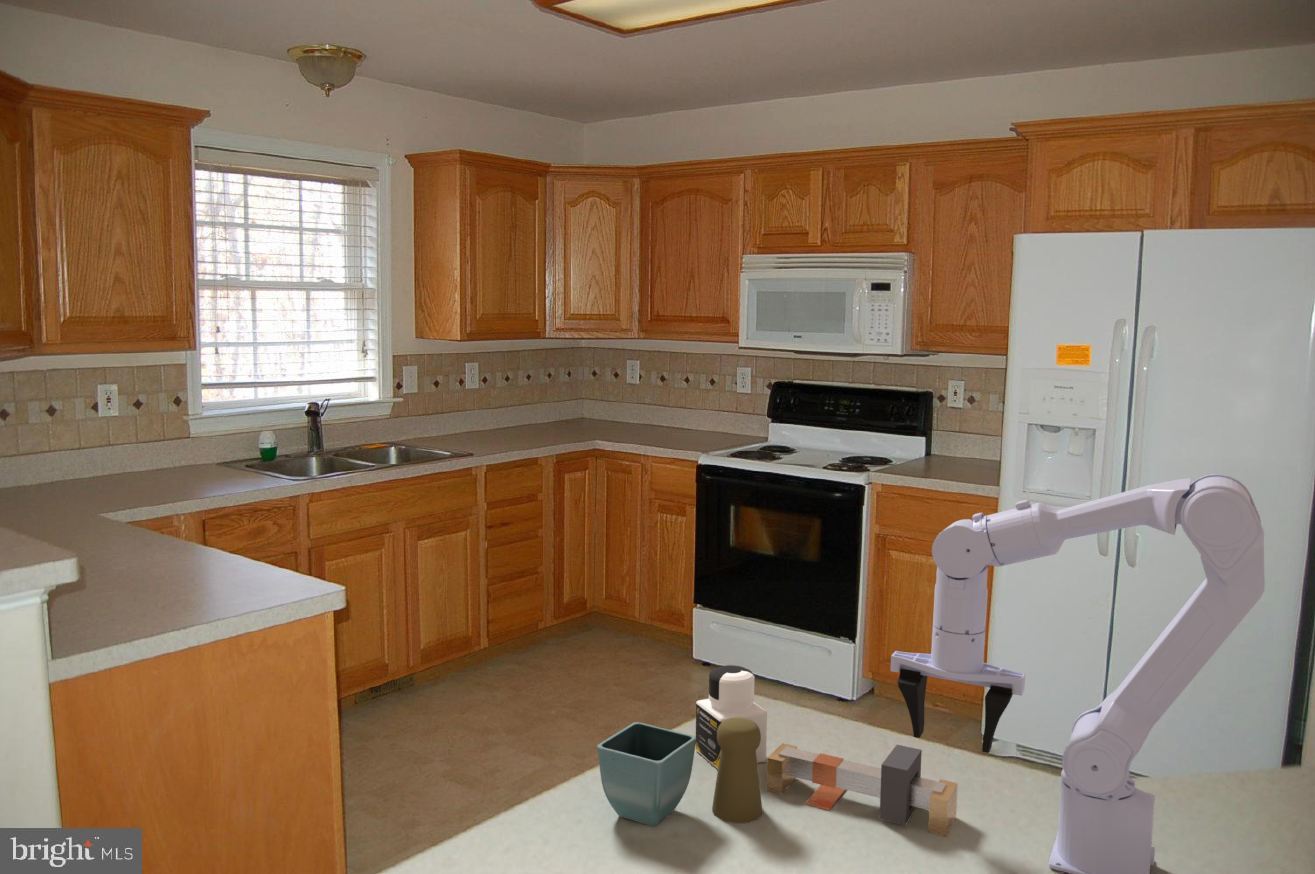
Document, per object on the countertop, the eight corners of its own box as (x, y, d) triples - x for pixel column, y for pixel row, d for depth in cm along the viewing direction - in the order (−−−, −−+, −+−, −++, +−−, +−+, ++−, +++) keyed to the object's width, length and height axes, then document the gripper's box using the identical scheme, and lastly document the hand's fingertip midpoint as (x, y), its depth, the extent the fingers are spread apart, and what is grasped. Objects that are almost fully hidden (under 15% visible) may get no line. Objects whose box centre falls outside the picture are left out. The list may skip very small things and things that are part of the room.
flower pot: (634, 789, 121) (635, 719, 120) (697, 807, 117) (698, 735, 116) (594, 819, 114) (594, 745, 113) (659, 839, 109) (660, 763, 108)
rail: (958, 813, 116) (959, 776, 115) (944, 840, 110) (945, 801, 109) (784, 771, 127) (785, 737, 126) (763, 793, 121) (764, 757, 120)
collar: (919, 802, 118) (921, 749, 117) (905, 825, 112) (907, 770, 112) (894, 796, 119) (896, 744, 119) (879, 818, 114) (881, 764, 113)
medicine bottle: (694, 750, 133) (695, 665, 131) (740, 741, 136) (741, 658, 134) (719, 772, 126) (721, 682, 125) (767, 762, 129) (769, 674, 128)
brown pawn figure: (760, 825, 113) (762, 734, 112) (708, 819, 114) (709, 729, 113) (765, 801, 119) (767, 713, 117) (715, 795, 120) (717, 709, 119)
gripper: (1031, 627, 111) (1023, 742, 112) (903, 607, 117) (897, 716, 119) (1022, 645, 104) (1014, 766, 106) (888, 623, 111) (882, 737, 113)
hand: (952, 741), depth 112 cm, fingers open, 7 cm apart
